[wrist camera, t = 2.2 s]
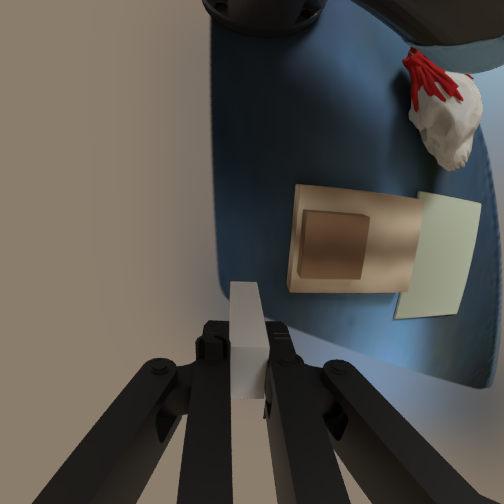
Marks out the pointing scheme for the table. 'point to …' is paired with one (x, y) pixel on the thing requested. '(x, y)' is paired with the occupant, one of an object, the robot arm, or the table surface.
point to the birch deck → (378, 242)
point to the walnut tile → (332, 245)
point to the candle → (443, 109)
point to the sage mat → (440, 257)
